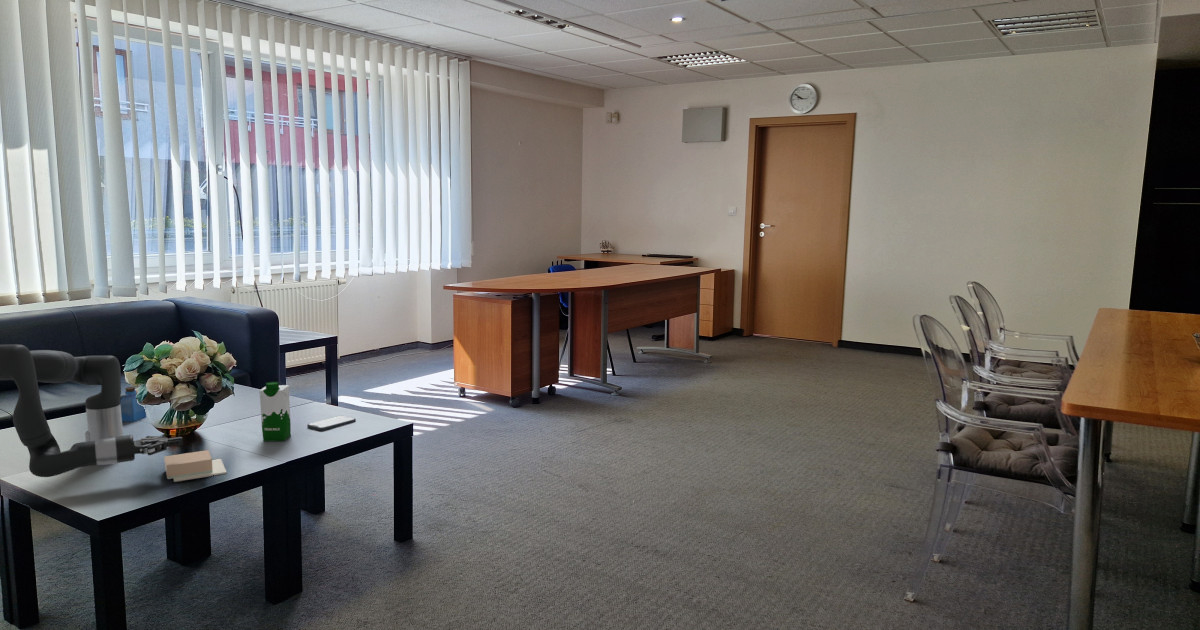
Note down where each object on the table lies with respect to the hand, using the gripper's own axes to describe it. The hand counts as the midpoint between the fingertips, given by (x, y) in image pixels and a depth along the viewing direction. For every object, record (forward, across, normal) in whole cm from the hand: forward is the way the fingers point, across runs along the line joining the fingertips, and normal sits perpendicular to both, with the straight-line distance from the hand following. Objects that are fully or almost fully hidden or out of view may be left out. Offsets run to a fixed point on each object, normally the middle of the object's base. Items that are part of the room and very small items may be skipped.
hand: (182, 440), depth 234 cm
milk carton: (+30, +23, +10) cm, 39 cm away
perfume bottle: (-12, +75, +10) cm, 77 cm away
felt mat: (+4, 0, +10) cm, 11 cm away
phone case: (+50, +30, +11) cm, 60 cm away
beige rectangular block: (-5, 0, +8) cm, 9 cm away
